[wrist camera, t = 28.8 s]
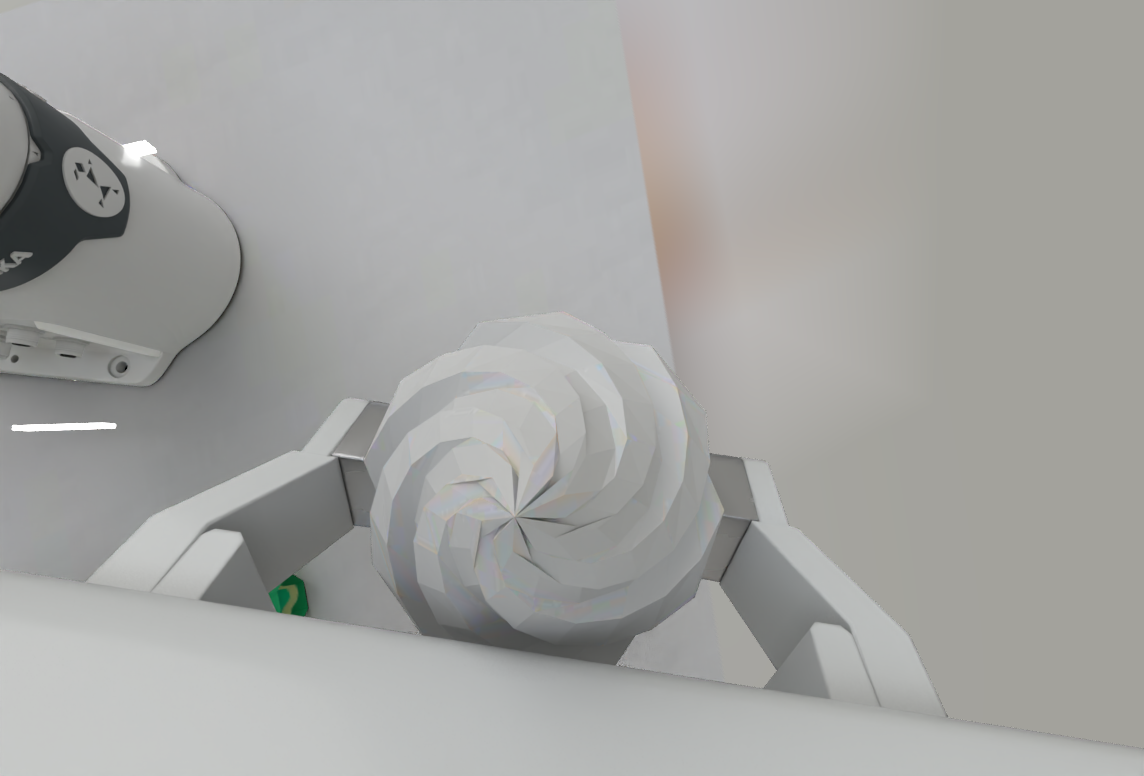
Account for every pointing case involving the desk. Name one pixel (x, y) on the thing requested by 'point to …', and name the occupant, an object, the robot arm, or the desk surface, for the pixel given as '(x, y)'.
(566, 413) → the ice cream cone
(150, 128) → the desk surface
